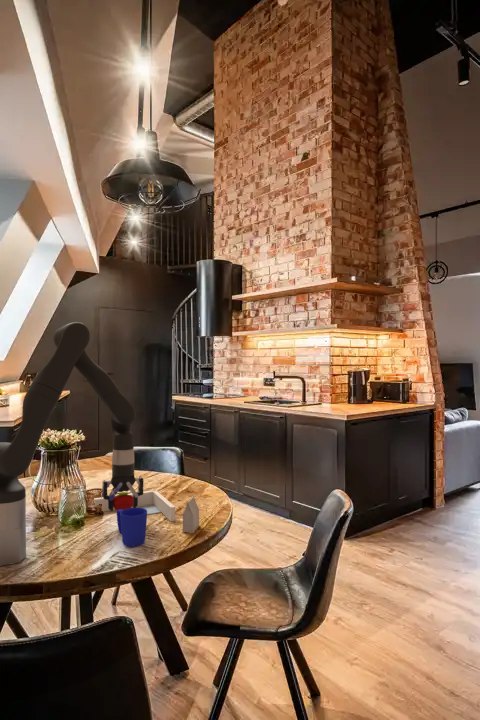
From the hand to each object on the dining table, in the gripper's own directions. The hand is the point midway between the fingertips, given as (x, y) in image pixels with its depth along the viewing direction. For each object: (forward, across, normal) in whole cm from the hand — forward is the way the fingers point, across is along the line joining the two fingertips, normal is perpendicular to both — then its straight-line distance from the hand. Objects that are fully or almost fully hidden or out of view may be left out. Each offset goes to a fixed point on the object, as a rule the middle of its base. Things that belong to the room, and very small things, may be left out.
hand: (123, 509), depth 163 cm
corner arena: (+5, +5, +6) cm, 10 cm away
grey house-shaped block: (+5, +19, -15) cm, 25 cm away
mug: (+5, -2, -18) cm, 18 cm away
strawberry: (+3, 0, 0) cm, 3 cm away
